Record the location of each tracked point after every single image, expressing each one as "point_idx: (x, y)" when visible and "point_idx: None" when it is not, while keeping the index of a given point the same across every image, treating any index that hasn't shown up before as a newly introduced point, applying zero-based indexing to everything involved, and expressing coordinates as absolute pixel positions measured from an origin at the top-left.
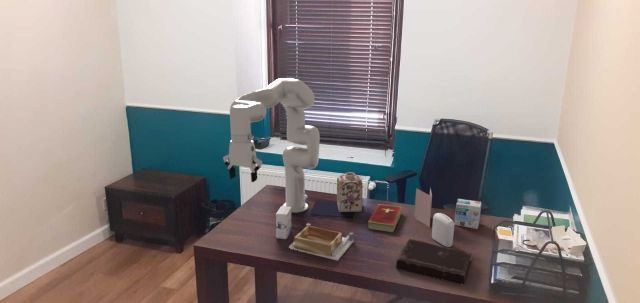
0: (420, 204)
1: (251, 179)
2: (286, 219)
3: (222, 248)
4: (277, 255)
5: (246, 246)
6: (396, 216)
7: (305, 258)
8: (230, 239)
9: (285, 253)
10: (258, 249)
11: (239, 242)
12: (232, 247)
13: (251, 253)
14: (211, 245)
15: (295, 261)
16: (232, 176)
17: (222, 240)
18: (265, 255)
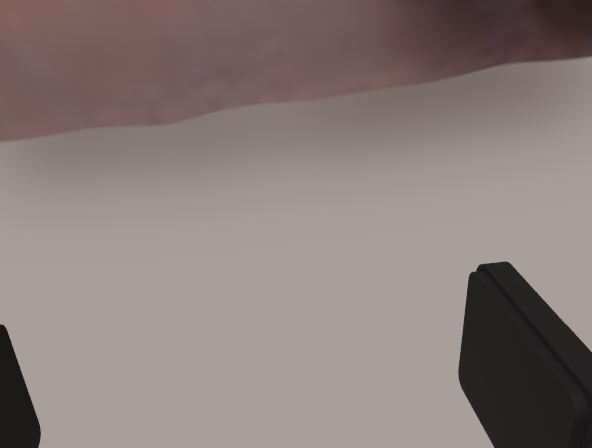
0: None
1: (482, 414)
2: None
3: (94, 126)
4: (427, 50)
5: (206, 41)
6: None
7: (584, 8)
8: (49, 7)
9: (461, 8)
10: (293, 39)
11: (132, 16)
12: (138, 90)
13: (281, 97)
14: (7, 127)
15: (540, 61)
16: (23, 441)
17: (13, 43)
18: (365, 80)
